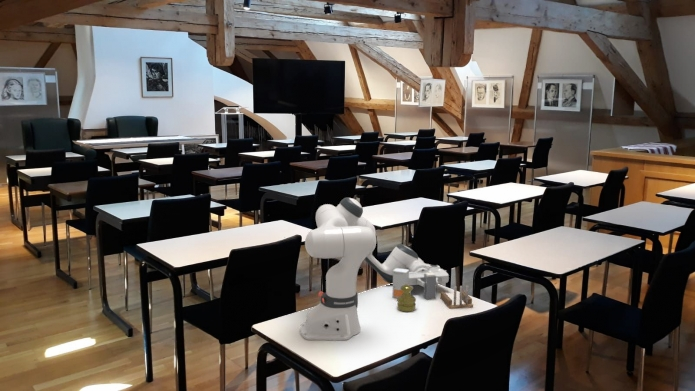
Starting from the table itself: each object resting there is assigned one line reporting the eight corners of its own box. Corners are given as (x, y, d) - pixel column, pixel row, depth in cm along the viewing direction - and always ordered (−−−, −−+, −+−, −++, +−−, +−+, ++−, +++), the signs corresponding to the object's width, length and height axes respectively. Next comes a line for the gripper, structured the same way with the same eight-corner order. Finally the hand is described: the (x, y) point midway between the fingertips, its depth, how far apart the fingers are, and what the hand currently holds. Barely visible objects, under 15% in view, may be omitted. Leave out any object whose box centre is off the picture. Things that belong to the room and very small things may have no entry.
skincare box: (392, 297, 242) (392, 270, 240) (395, 294, 246) (395, 267, 244) (405, 299, 240) (406, 272, 237) (408, 296, 243) (409, 269, 241)
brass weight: (414, 312, 226) (415, 289, 224) (396, 311, 227) (396, 287, 225) (416, 305, 233) (416, 282, 231) (398, 304, 234) (398, 281, 232)
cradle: (449, 309, 229) (450, 287, 228) (440, 298, 241) (440, 278, 239) (473, 307, 231) (474, 286, 229) (462, 297, 242) (463, 276, 240)
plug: (426, 299, 240) (427, 275, 237) (423, 296, 243) (424, 272, 241) (435, 298, 240) (436, 274, 238) (432, 295, 244) (433, 271, 242)
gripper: (398, 267, 251) (406, 278, 238) (442, 265, 255) (453, 275, 241) (397, 281, 252) (406, 292, 239) (442, 278, 256) (452, 289, 242)
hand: (430, 284), depth 240 cm, fingers closed on plug, 4 cm apart
